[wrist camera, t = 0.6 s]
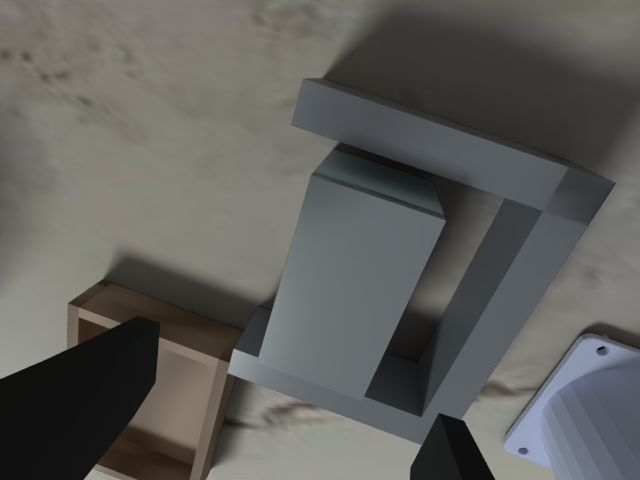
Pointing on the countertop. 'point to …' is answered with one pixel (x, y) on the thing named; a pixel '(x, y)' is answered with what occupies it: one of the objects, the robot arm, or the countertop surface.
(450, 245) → the countertop surface
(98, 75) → the countertop surface
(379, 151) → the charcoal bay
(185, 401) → the walnut tray
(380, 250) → the pale grey block
